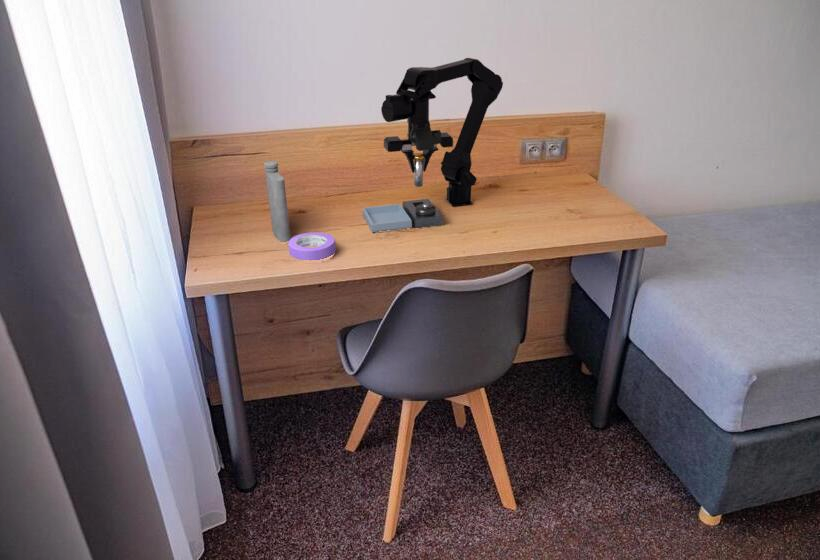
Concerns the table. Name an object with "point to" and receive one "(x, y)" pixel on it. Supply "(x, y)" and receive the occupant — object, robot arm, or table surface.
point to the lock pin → (418, 169)
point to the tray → (387, 218)
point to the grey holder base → (423, 213)
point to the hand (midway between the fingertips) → (418, 171)
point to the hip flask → (277, 201)
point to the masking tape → (309, 239)
